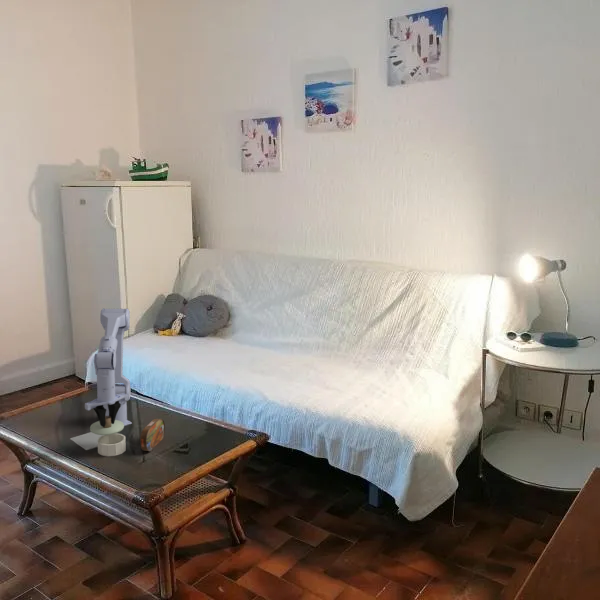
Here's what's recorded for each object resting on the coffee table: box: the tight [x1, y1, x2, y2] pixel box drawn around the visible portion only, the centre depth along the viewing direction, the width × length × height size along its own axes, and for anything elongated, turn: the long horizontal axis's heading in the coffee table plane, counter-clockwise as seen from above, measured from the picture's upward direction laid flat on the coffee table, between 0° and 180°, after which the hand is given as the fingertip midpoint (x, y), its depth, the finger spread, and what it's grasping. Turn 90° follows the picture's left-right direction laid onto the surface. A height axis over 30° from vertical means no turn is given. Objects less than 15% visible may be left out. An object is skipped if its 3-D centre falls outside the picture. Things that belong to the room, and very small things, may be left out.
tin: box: [139, 418, 166, 452], centre depth 206 cm, size 15×3×8 cm, turn 168°
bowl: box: [97, 432, 127, 457], centre depth 201 cm, size 9×9×4 cm
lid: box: [89, 416, 125, 435], centre depth 201 cm, size 11×11×4 cm
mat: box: [69, 431, 103, 451], centre depth 209 cm, size 12×12×1 cm
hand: (107, 424), depth 201 cm, fingers closed on lid, 3 cm apart
